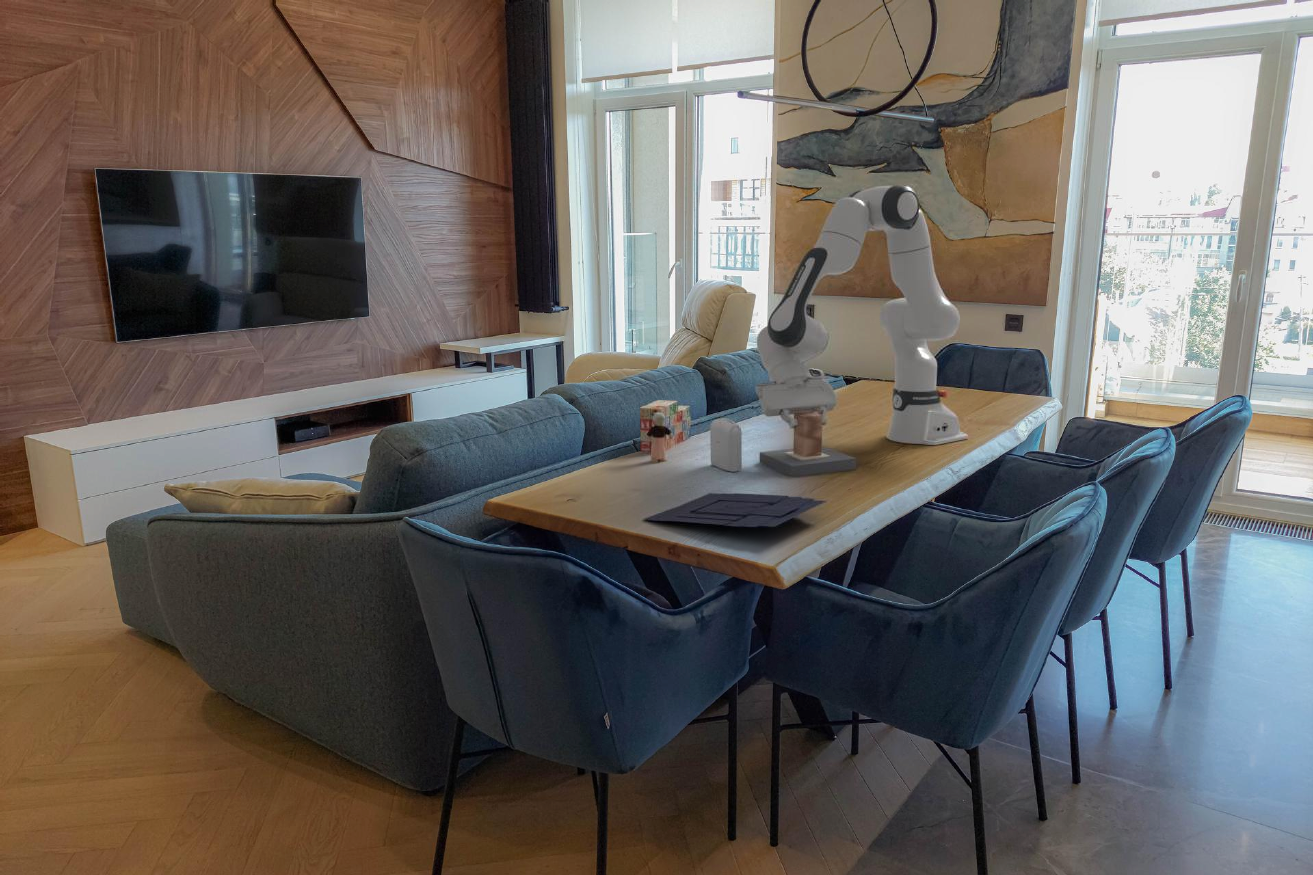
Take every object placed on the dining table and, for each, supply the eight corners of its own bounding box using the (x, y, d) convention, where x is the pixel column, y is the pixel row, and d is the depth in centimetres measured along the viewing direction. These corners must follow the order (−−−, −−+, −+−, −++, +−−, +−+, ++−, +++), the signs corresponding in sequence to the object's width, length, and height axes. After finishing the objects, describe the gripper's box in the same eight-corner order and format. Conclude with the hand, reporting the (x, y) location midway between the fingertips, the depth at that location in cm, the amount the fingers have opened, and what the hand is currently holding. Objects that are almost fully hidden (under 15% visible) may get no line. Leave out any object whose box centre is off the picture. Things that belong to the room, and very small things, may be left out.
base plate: (820, 455, 231) (820, 444, 231) (856, 469, 217) (856, 457, 216) (759, 462, 225) (759, 451, 224) (792, 477, 210) (792, 464, 210)
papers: (770, 544, 160) (768, 524, 160) (642, 532, 179) (640, 515, 178) (833, 512, 179) (831, 494, 178) (711, 504, 197) (709, 488, 197)
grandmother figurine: (651, 464, 225) (650, 415, 222) (643, 461, 228) (642, 412, 225) (676, 459, 229) (675, 411, 226) (667, 457, 232) (667, 409, 230)
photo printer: (708, 464, 224) (707, 416, 221) (722, 462, 226) (722, 414, 223) (728, 473, 215) (728, 423, 212) (744, 471, 217) (744, 421, 214)
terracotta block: (810, 451, 223) (811, 412, 221) (821, 455, 219) (822, 415, 217) (793, 453, 222) (794, 413, 220) (803, 457, 217) (804, 416, 215)
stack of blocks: (671, 436, 259) (670, 394, 256) (691, 437, 256) (690, 395, 254) (640, 451, 240) (639, 406, 237) (661, 453, 237) (660, 408, 235)
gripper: (757, 376, 219) (776, 421, 212) (828, 370, 226) (849, 414, 219) (748, 391, 224) (767, 436, 217) (818, 385, 231) (838, 429, 224)
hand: (809, 425), depth 218 cm, fingers open, 7 cm apart
